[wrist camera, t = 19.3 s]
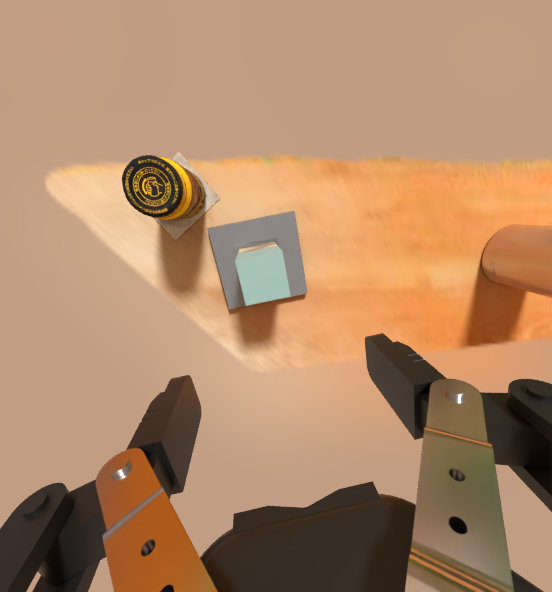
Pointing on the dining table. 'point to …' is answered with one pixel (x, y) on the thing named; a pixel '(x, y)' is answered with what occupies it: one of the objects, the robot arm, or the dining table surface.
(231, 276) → the plate
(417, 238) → the dining table surface
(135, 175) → the condiment
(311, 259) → the dining table surface
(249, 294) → the block teal
